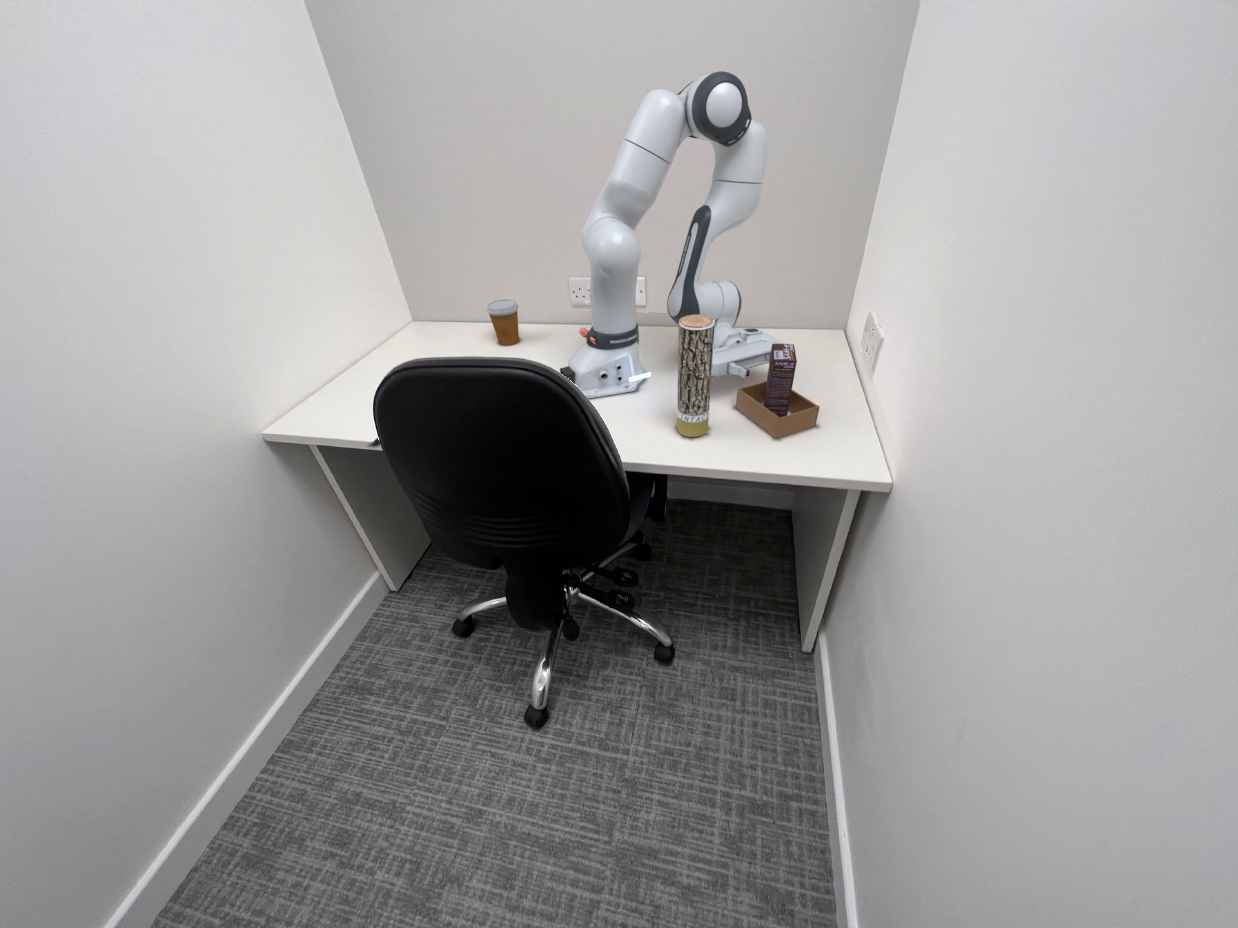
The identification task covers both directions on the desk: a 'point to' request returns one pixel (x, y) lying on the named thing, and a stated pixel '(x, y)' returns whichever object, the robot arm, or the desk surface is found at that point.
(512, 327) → the disposable coffee cup
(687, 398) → the paper tube
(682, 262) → the robot arm
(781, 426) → the cardboard box
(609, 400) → the desk surface
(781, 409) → the supplement box
